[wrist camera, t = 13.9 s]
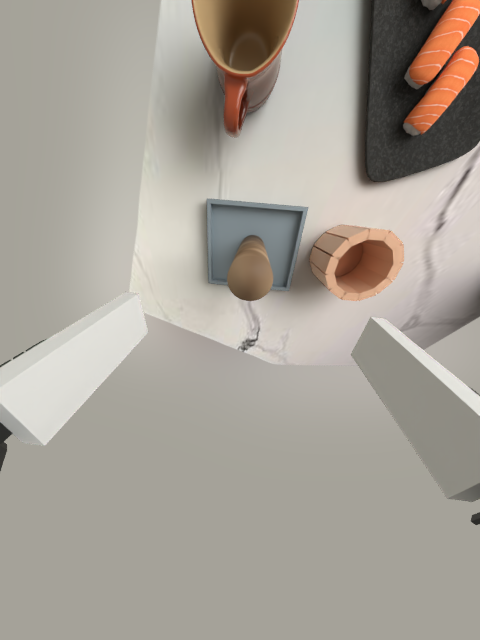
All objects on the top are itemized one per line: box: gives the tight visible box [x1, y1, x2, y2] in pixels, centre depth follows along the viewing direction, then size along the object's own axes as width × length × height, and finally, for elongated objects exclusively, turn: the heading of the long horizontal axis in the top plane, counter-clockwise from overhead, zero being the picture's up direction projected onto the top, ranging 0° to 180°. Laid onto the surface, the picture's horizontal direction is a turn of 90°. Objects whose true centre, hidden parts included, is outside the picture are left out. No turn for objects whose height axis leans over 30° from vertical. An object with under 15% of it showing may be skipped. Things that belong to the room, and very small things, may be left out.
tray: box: [207, 199, 308, 291], centre depth 32 cm, size 16×14×2 cm
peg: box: [227, 235, 273, 301], centre depth 25 cm, size 4×4×18 cm
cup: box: [309, 225, 404, 301], centre depth 29 cm, size 10×10×9 cm
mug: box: [192, 0, 299, 138], centre depth 19 cm, size 12×9×10 cm
